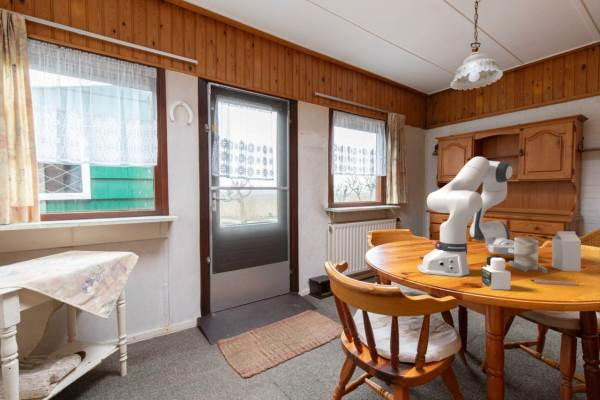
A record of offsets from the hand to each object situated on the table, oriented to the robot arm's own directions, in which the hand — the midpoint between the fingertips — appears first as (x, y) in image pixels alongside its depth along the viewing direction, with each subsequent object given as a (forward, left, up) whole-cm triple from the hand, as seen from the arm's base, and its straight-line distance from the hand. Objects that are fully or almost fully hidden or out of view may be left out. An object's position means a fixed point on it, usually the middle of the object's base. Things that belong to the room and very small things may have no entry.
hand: (518, 252), depth 139 cm
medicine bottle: (-25, -35, -8) cm, 43 cm away
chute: (0, -14, -7) cm, 16 cm away
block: (0, -6, -6) cm, 9 cm away
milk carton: (+17, -5, -8) cm, 19 cm away
